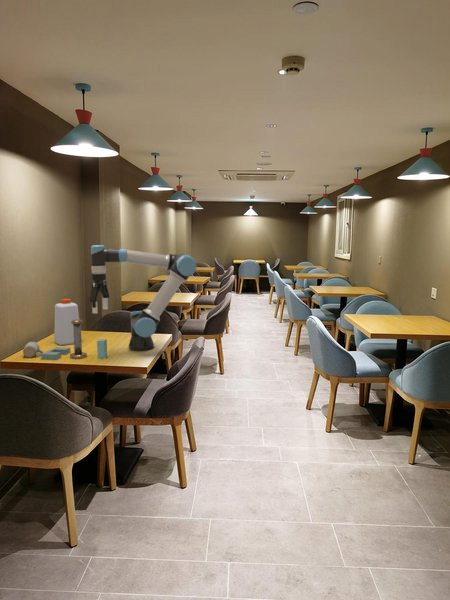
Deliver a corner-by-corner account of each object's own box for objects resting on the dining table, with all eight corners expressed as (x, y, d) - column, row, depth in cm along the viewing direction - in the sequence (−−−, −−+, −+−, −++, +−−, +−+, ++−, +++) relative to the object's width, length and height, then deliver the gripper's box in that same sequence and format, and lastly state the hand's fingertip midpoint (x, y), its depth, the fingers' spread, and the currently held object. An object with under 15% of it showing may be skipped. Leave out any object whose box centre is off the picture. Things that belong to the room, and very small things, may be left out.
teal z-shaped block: (70, 352, 271) (70, 347, 270) (56, 359, 255) (56, 354, 255) (56, 352, 272) (56, 347, 272) (41, 359, 257) (41, 354, 256)
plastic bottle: (59, 346, 286) (57, 301, 282) (52, 341, 298) (50, 299, 294) (83, 342, 295) (81, 299, 291) (76, 338, 307) (73, 297, 303)
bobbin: (89, 355, 265) (87, 319, 262) (82, 359, 257) (80, 322, 254) (74, 354, 267) (73, 318, 264) (67, 358, 258) (65, 321, 255)
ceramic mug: (22, 358, 259) (22, 345, 258) (25, 354, 267) (25, 341, 266) (42, 357, 261) (42, 344, 260) (45, 353, 269) (44, 341, 268)
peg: (107, 356, 262) (106, 339, 261) (104, 358, 258) (103, 341, 257) (100, 356, 263) (99, 339, 261) (97, 358, 259) (96, 340, 257)
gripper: (101, 271, 266) (103, 307, 269) (82, 275, 242) (83, 314, 245) (114, 271, 265) (115, 307, 268) (95, 275, 241) (97, 315, 244)
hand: (100, 311), depth 257 cm, fingers open, 13 cm apart
